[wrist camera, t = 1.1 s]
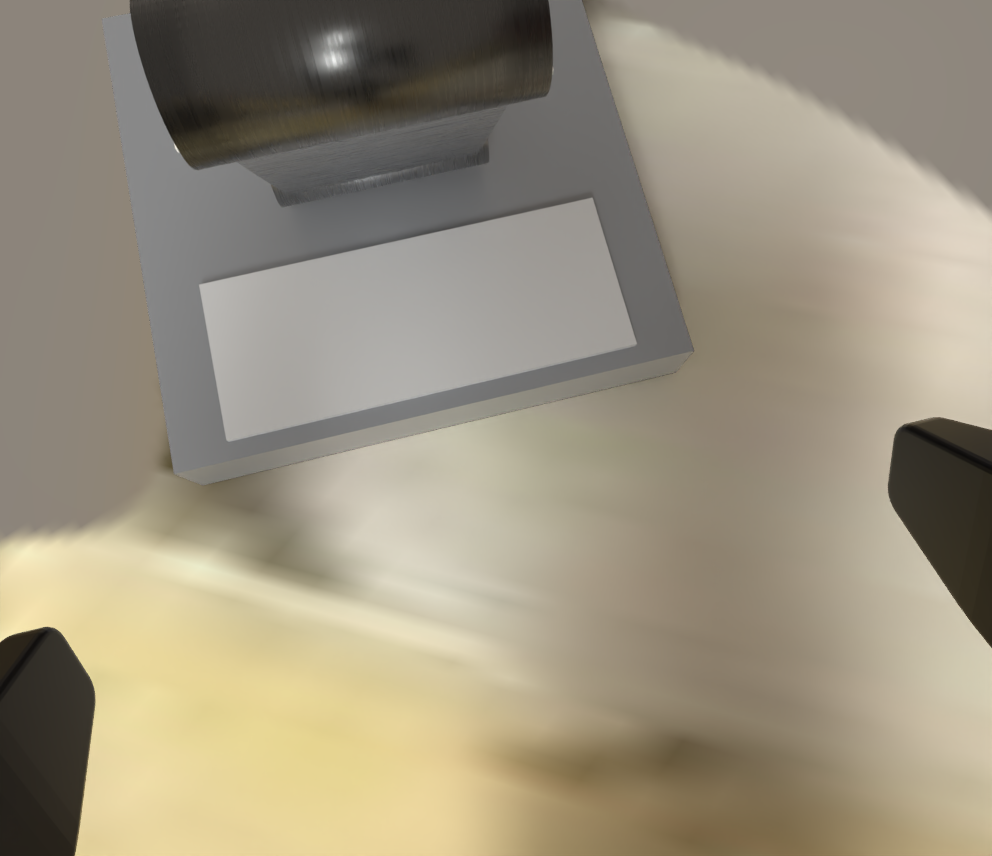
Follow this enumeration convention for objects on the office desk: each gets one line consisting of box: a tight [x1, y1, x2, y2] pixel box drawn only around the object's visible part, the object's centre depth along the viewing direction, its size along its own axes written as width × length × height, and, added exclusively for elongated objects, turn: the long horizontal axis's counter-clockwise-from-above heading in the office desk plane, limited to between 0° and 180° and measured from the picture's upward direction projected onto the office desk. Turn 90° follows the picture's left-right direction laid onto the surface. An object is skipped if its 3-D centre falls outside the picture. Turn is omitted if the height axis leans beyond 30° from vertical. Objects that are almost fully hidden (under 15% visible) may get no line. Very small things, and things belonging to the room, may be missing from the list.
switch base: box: [102, 0, 694, 485], centre depth 22 cm, size 14×14×2 cm
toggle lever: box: [130, 0, 553, 207], centre depth 15 cm, size 2×6×11 cm, turn 104°
